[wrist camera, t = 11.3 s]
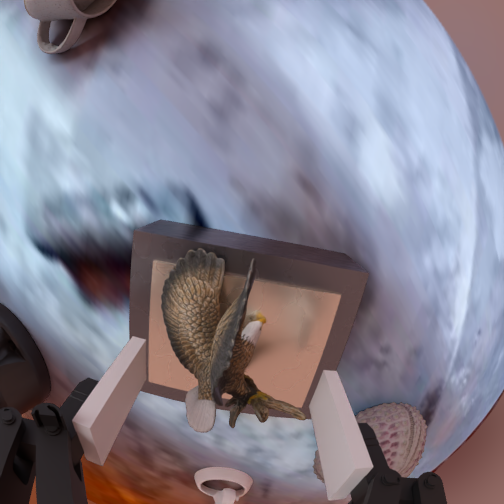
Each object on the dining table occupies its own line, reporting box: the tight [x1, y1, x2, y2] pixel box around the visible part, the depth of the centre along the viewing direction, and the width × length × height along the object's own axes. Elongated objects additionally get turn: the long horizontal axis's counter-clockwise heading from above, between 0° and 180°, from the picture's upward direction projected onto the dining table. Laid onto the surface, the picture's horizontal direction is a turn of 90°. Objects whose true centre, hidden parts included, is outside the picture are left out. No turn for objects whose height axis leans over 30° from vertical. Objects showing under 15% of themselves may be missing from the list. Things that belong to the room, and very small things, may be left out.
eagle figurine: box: [161, 248, 306, 432], centre depth 14 cm, size 8×7×9 cm
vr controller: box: [194, 467, 253, 504], centre depth 25 cm, size 8×12×7 cm
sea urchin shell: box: [313, 402, 427, 483], centre depth 22 cm, size 13×14×8 cm
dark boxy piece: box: [129, 220, 369, 419], centre depth 19 cm, size 12×14×5 cm
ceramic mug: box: [24, 0, 117, 54], centre depth 12 cm, size 11×8×8 cm
